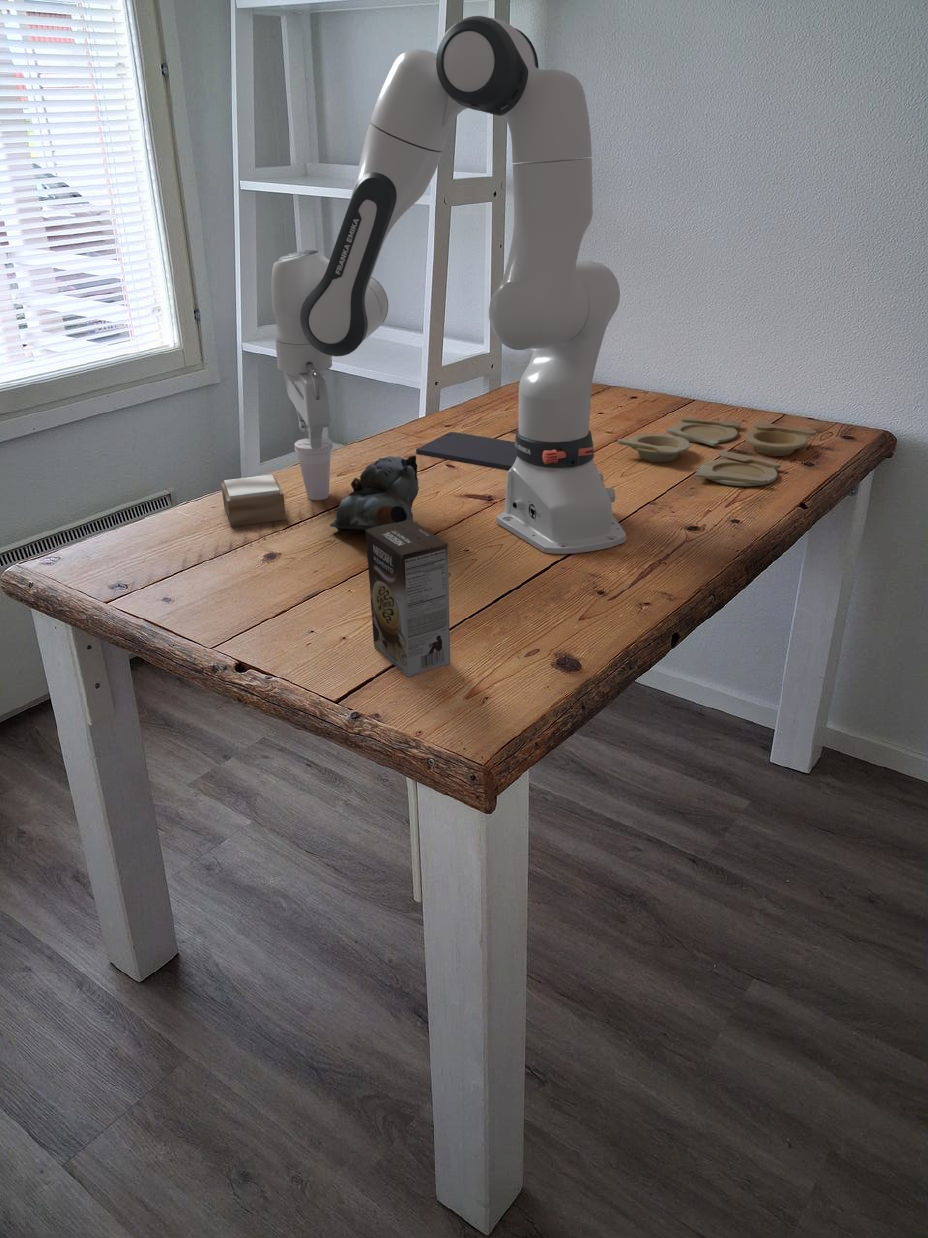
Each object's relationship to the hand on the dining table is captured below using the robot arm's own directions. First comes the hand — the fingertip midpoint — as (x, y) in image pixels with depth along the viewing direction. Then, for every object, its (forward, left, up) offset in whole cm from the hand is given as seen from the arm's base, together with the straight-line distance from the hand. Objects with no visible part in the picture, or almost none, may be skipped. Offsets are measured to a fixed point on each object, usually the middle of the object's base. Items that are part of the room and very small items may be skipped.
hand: (310, 438), depth 169 cm
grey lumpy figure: (-19, -6, -11) cm, 22 cm away
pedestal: (-4, +11, -10) cm, 16 cm away
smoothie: (0, 0, -11) cm, 11 cm away
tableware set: (-5, -76, -11) cm, 77 cm away
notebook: (+12, -34, -11) cm, 38 cm away
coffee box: (-59, 0, -11) cm, 60 cm away
